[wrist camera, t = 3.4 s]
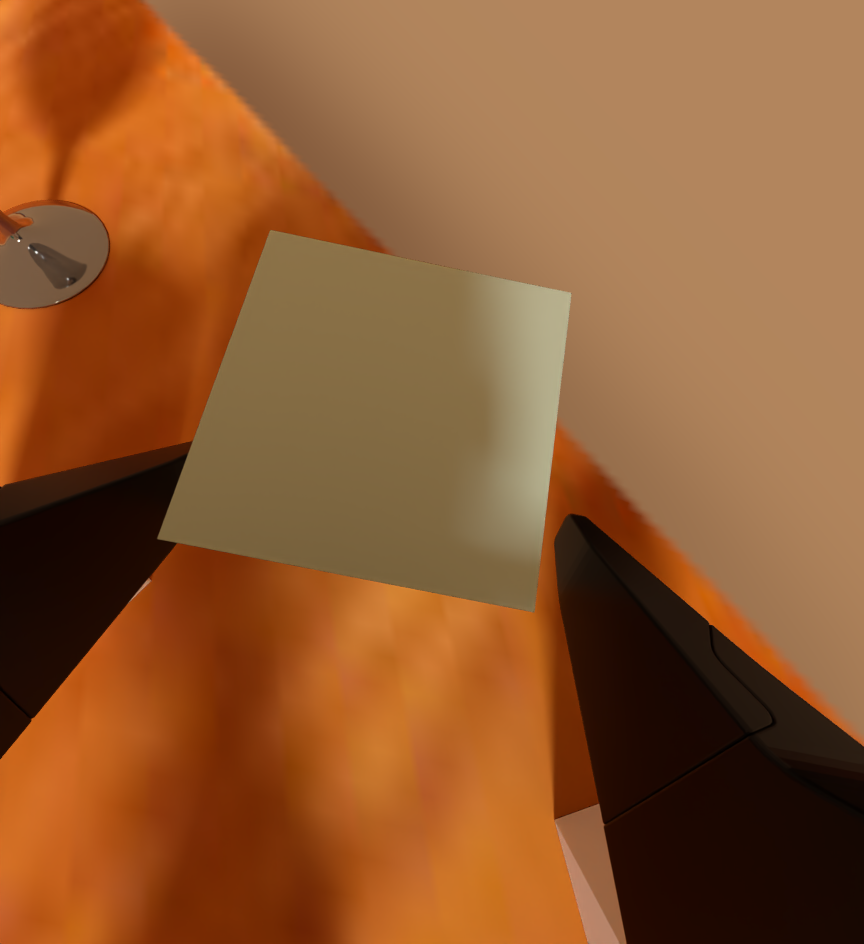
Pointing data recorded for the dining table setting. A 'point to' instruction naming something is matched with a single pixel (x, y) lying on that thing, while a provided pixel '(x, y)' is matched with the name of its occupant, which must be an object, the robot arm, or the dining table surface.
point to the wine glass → (49, 253)
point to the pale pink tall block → (591, 875)
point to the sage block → (381, 424)
